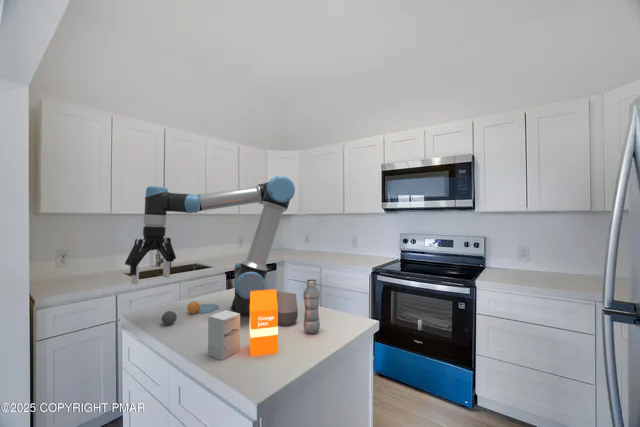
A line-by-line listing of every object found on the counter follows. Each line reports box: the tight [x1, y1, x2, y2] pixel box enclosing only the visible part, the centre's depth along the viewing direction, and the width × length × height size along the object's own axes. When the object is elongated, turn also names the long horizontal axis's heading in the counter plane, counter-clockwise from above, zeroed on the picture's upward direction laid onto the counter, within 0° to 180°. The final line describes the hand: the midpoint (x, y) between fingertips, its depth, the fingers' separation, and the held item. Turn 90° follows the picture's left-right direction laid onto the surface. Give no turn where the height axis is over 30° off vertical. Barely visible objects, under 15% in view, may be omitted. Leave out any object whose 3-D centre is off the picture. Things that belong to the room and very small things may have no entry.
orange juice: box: [249, 288, 279, 357], centre depth 95 cm, size 8×9×20 cm
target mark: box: [195, 303, 220, 315], centre depth 136 cm, size 14×14×1 cm
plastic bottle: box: [302, 279, 321, 334], centre depth 109 cm, size 6×7×20 cm
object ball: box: [186, 300, 201, 315], centre depth 130 cm, size 6×6×6 cm
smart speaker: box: [276, 290, 299, 327], centre depth 118 cm, size 10×9×14 cm
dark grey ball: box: [161, 310, 178, 326], centre depth 116 cm, size 6×6×6 cm
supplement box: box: [207, 309, 241, 361], centre depth 92 cm, size 7×7×13 cm
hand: (151, 280), depth 109 cm, fingers open, 13 cm apart
